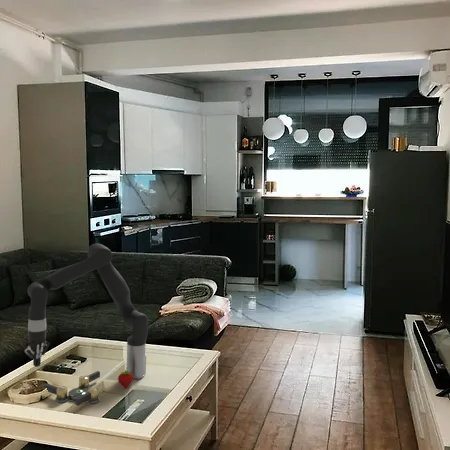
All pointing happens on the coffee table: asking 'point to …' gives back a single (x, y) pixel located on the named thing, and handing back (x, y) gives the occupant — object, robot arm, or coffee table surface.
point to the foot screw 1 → (57, 391)
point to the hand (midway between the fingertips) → (37, 365)
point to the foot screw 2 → (88, 396)
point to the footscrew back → (88, 379)
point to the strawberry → (125, 379)
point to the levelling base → (76, 395)
